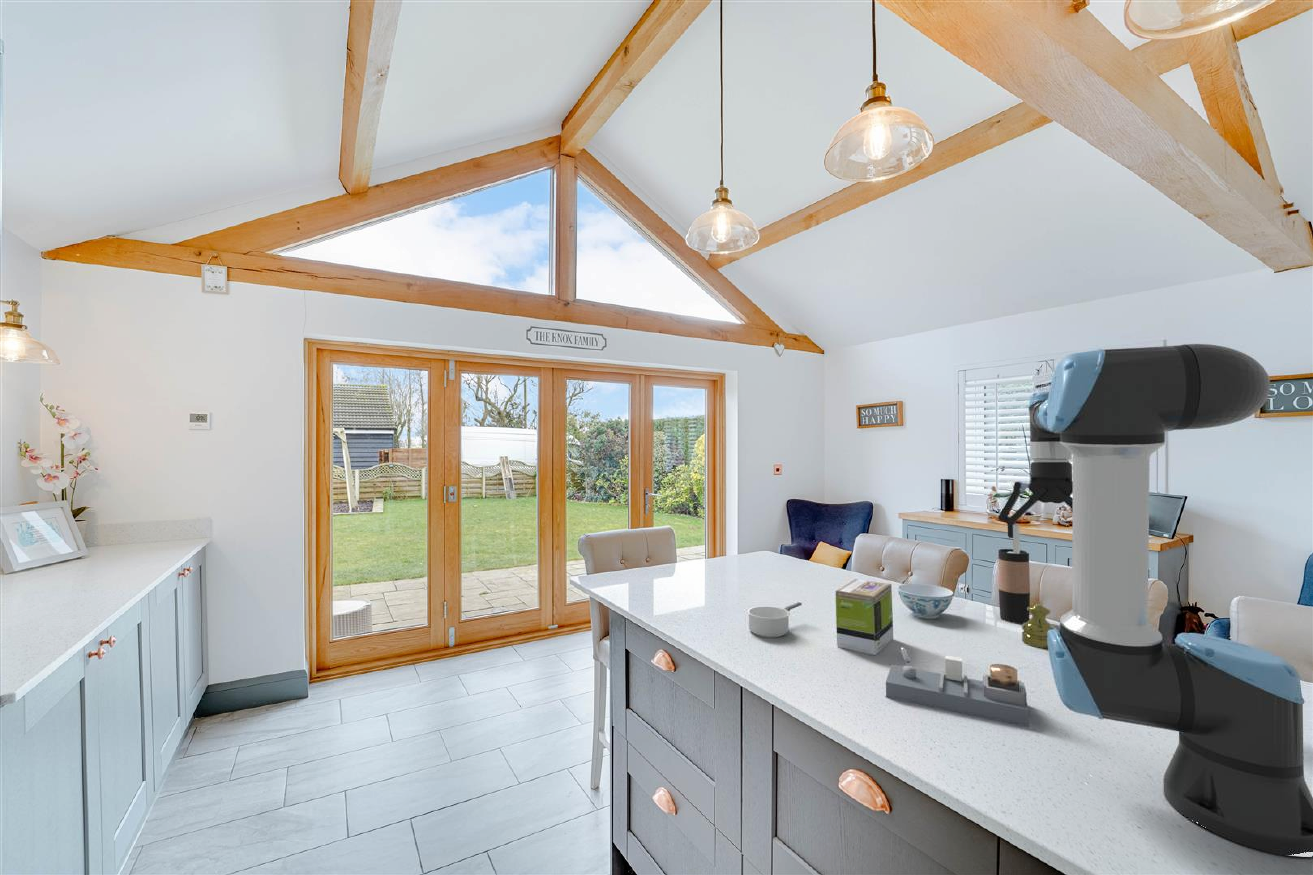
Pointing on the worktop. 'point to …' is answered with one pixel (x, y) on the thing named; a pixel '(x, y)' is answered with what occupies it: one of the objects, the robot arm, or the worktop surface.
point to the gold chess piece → (1037, 627)
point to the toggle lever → (905, 655)
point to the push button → (1003, 675)
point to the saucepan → (770, 620)
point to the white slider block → (953, 668)
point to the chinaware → (925, 599)
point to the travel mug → (1014, 585)
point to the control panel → (959, 694)
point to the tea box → (864, 616)
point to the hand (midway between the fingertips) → (1052, 556)
